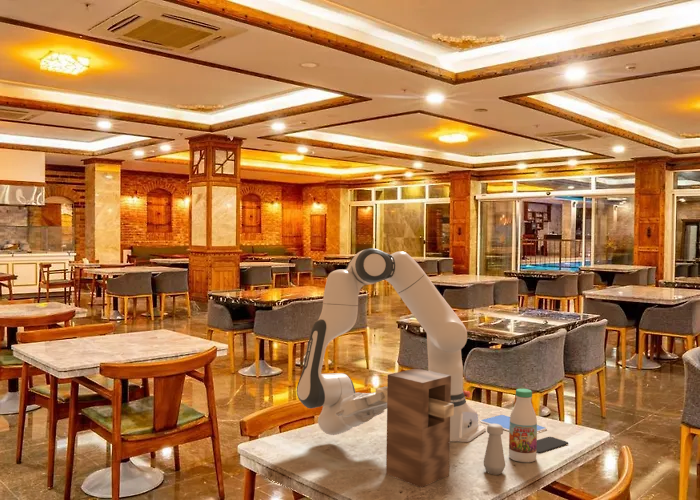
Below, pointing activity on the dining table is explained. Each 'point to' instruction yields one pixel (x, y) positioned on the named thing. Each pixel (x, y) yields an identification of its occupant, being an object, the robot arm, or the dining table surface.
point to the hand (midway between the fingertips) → (389, 393)
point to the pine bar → (429, 405)
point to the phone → (549, 444)
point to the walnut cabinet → (417, 427)
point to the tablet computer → (505, 422)
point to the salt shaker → (494, 450)
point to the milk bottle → (523, 428)
